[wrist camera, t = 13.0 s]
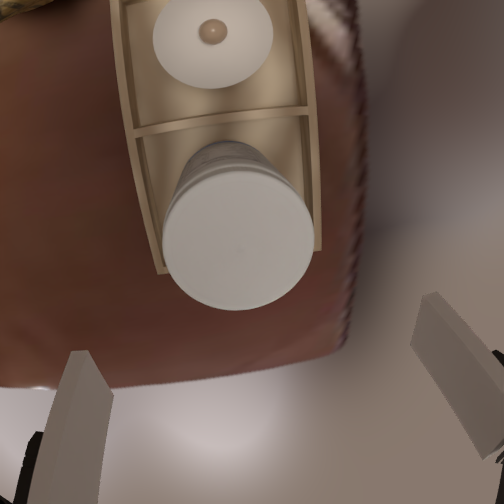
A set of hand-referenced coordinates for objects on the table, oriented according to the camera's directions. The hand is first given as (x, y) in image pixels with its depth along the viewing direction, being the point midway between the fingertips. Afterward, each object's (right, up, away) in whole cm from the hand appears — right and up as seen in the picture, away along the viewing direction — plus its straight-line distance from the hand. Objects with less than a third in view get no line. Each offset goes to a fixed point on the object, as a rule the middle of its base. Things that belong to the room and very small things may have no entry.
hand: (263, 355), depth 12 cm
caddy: (-4, +17, +18) cm, 25 cm away
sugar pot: (-4, +23, +14) cm, 27 cm away
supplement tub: (-3, +11, +21) cm, 24 cm away
